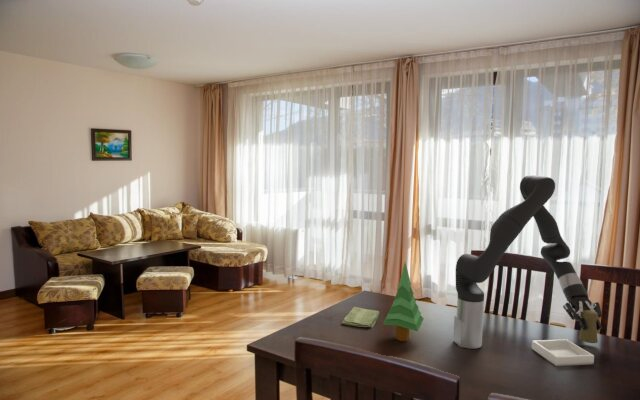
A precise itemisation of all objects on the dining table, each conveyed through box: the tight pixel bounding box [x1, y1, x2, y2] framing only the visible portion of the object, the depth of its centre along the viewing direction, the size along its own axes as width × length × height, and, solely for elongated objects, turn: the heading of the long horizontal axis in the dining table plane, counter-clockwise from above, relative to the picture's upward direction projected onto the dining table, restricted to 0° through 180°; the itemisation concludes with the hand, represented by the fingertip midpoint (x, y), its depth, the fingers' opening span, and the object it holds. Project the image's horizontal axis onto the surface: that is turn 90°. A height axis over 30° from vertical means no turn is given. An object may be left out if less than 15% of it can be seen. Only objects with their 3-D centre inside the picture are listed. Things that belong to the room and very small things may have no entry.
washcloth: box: [341, 306, 380, 329], centre depth 186 cm, size 13×18×3 cm
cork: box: [578, 310, 599, 344], centre depth 163 cm, size 6×6×11 cm
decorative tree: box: [382, 261, 424, 342], centre depth 166 cm, size 14×16×30 cm
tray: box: [531, 338, 595, 367], centre depth 154 cm, size 14×14×3 cm
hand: (592, 329), depth 161 cm, fingers closed on cork, 4 cm apart
